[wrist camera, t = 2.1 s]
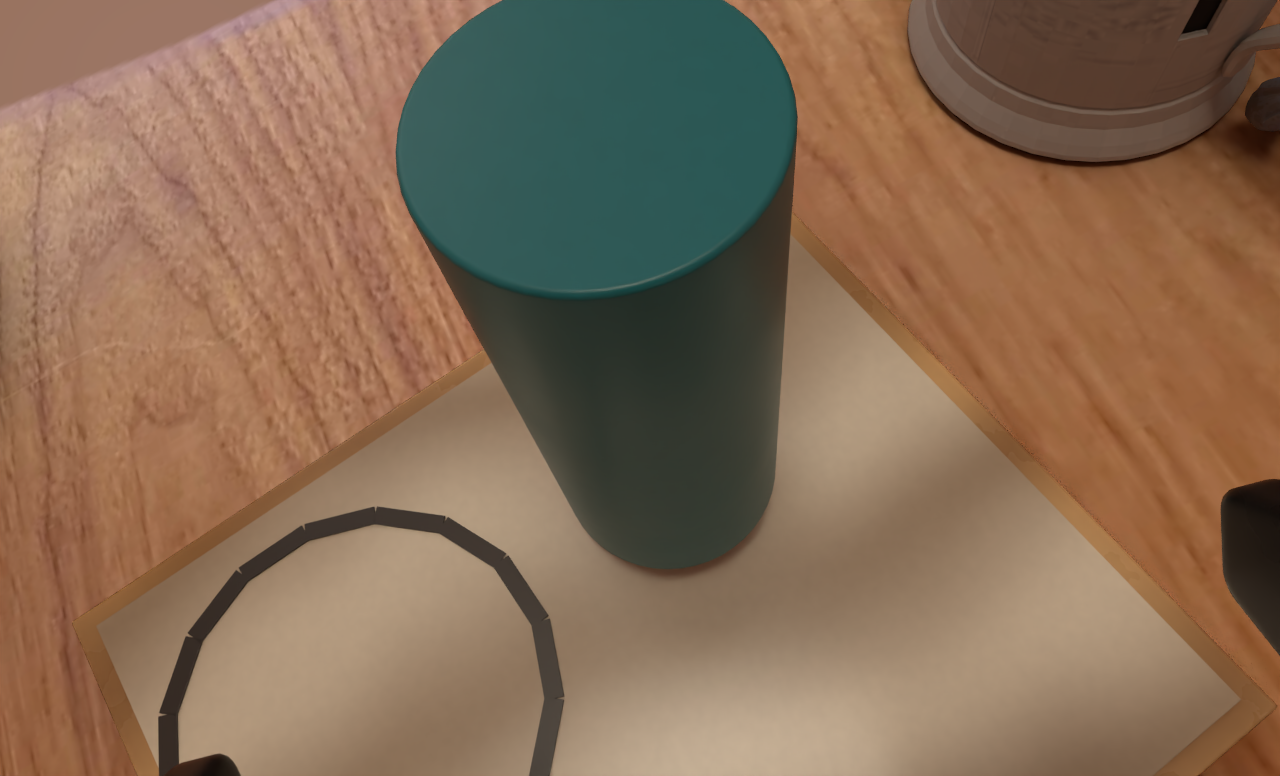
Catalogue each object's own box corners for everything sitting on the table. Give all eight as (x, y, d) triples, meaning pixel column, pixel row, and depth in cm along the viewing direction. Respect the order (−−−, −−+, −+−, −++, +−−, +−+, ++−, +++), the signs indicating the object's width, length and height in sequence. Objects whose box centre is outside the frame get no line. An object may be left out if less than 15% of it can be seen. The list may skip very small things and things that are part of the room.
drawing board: (1264, 710, 19) (1284, 705, 18) (435, 1429, 16) (420, 1457, 15) (752, 184, 25) (752, 166, 25) (86, 627, 22) (65, 620, 22)
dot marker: (816, 500, 21) (885, 139, 10) (649, 624, 20) (531, 378, 9) (693, 355, 23) (640, -87, 12) (535, 464, 22) (324, 100, 11)
